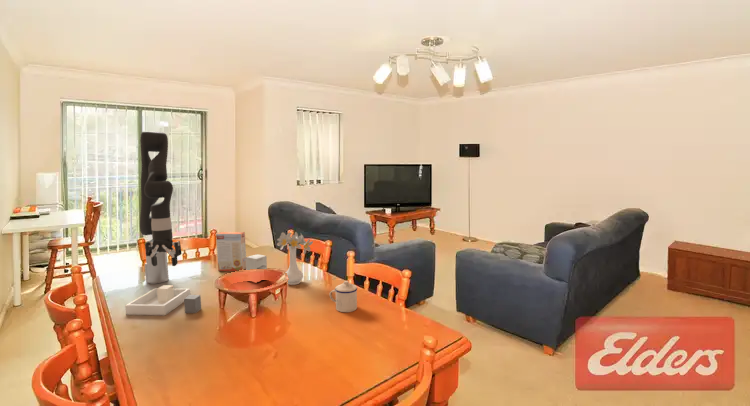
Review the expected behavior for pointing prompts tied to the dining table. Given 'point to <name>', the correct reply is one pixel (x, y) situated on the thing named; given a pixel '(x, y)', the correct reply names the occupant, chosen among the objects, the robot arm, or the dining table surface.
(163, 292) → the cream block
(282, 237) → the flower vase
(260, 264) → the supplement box
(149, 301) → the tray
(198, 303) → the charcoal block
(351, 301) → the teacup with lid
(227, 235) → the cracker box
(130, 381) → the dining table surface
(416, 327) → the dining table surface
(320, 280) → the dining table surface
